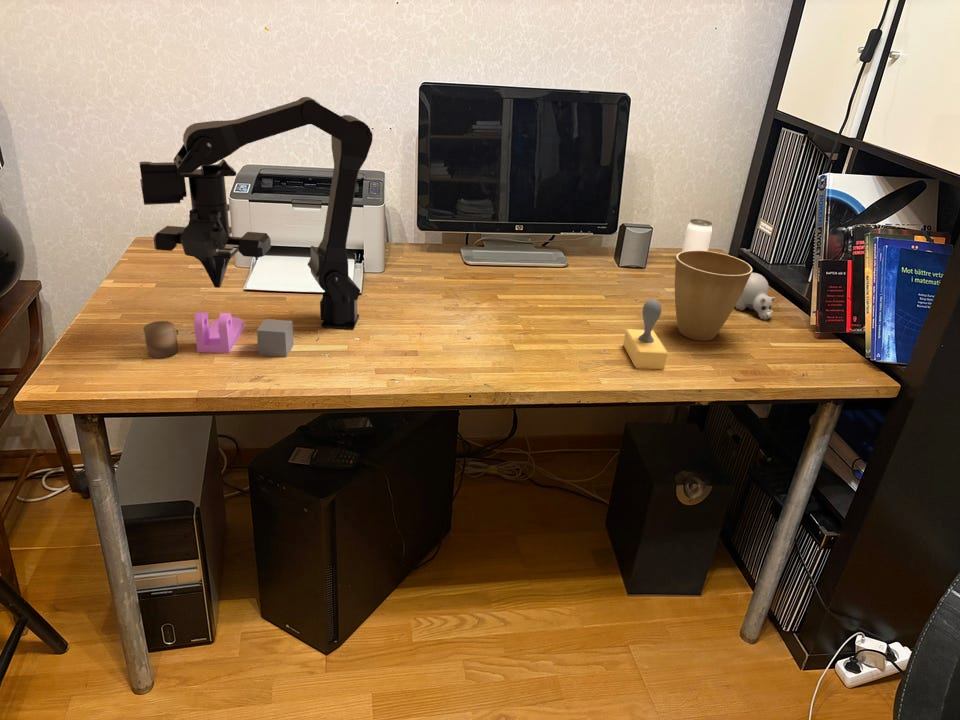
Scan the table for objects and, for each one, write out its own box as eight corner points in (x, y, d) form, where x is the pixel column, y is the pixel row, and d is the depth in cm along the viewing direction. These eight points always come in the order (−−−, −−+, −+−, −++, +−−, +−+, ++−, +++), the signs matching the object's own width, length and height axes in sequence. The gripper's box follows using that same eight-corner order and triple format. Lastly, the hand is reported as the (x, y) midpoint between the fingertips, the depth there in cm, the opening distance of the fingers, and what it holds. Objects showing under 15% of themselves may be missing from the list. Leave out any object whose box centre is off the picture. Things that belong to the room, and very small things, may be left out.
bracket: (229, 353, 127) (225, 318, 123) (197, 352, 126) (192, 317, 123) (246, 323, 138) (243, 290, 135) (217, 322, 138) (214, 289, 135)
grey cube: (293, 345, 131) (292, 320, 129) (286, 357, 127) (285, 332, 124) (266, 343, 131) (264, 319, 129) (258, 355, 127) (256, 330, 124)
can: (706, 270, 186) (716, 226, 181) (682, 269, 186) (691, 224, 181) (700, 262, 192) (709, 219, 186) (676, 260, 192) (685, 217, 186)
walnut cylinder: (182, 347, 127) (179, 322, 125) (171, 359, 123) (167, 334, 121) (155, 345, 127) (151, 320, 125) (142, 357, 123) (138, 332, 120)
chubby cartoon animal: (747, 331, 159) (764, 304, 152) (721, 294, 166) (737, 266, 160) (773, 328, 161) (791, 301, 154) (747, 291, 168) (763, 265, 162)
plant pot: (700, 354, 140) (718, 278, 132) (647, 325, 150) (661, 254, 143) (749, 341, 147) (768, 268, 140) (695, 314, 158) (710, 246, 151)
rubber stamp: (622, 345, 141) (632, 289, 136) (650, 346, 142) (661, 290, 136) (634, 368, 132) (646, 309, 127) (664, 369, 133) (677, 311, 127)
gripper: (132, 210, 113) (146, 299, 120) (249, 218, 114) (256, 307, 121) (162, 193, 123) (173, 277, 130) (268, 201, 124) (274, 284, 131)
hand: (218, 286), depth 128 cm, fingers closed
